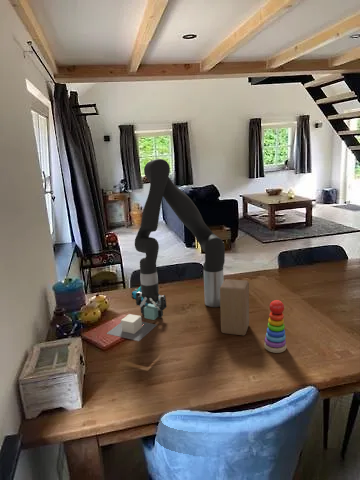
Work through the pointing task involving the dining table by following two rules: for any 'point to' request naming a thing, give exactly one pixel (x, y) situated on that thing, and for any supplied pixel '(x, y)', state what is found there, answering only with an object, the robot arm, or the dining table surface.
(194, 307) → the dining table surface
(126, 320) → the cream brick
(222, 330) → the block
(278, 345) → the stacking toy
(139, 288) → the toy car
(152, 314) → the teal brick
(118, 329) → the board
